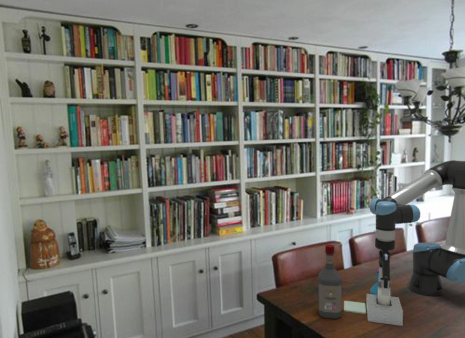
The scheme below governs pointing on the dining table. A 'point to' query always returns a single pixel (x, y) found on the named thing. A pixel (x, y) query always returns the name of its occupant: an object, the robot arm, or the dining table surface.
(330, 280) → the liquor
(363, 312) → the mat
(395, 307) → the housing
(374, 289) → the perfume bottle
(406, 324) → the dining table surface
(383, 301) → the salt shaker
